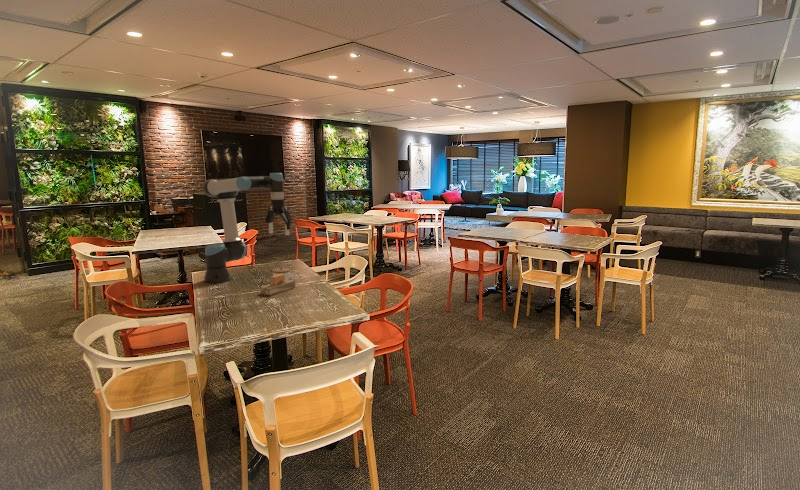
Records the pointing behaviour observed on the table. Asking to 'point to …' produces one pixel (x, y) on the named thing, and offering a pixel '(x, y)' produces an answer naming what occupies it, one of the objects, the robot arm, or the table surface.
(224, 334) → the table surface
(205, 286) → the table surface
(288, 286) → the brown wooden block
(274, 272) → the lidded jar
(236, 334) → the table surface
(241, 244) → the robot arm
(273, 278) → the wooden arch block
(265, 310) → the table surface
